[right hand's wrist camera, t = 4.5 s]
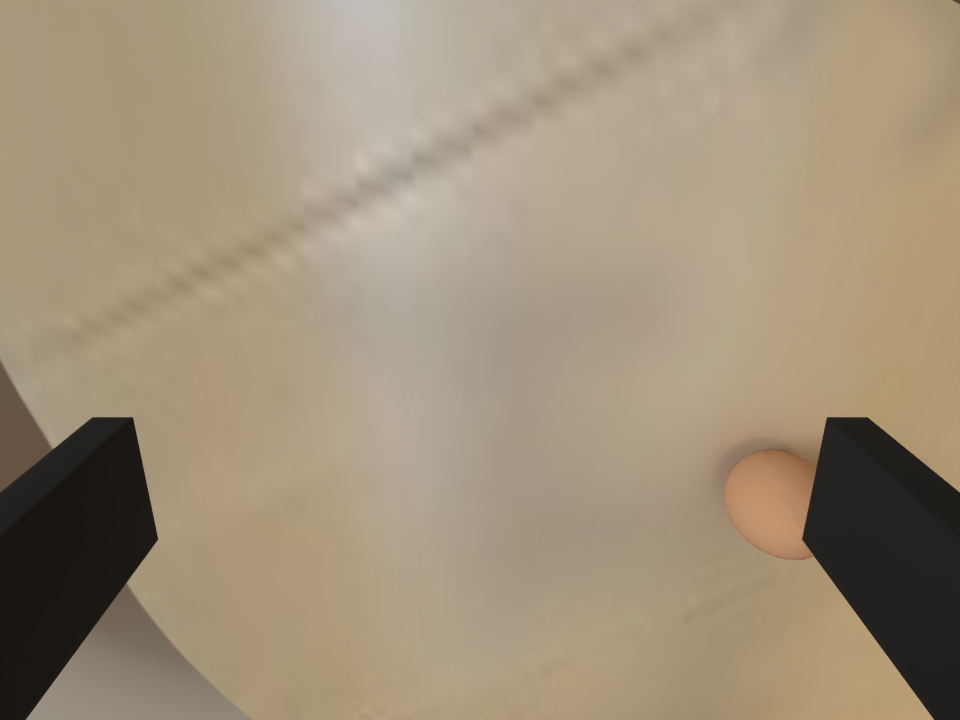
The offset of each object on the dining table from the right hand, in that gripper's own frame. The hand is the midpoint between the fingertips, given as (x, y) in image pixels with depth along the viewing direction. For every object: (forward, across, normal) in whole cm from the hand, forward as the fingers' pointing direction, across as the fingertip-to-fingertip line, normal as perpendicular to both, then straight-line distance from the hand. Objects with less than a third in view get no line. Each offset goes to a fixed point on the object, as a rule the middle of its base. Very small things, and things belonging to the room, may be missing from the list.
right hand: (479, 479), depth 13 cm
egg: (+28, -18, +16) cm, 37 cm away
